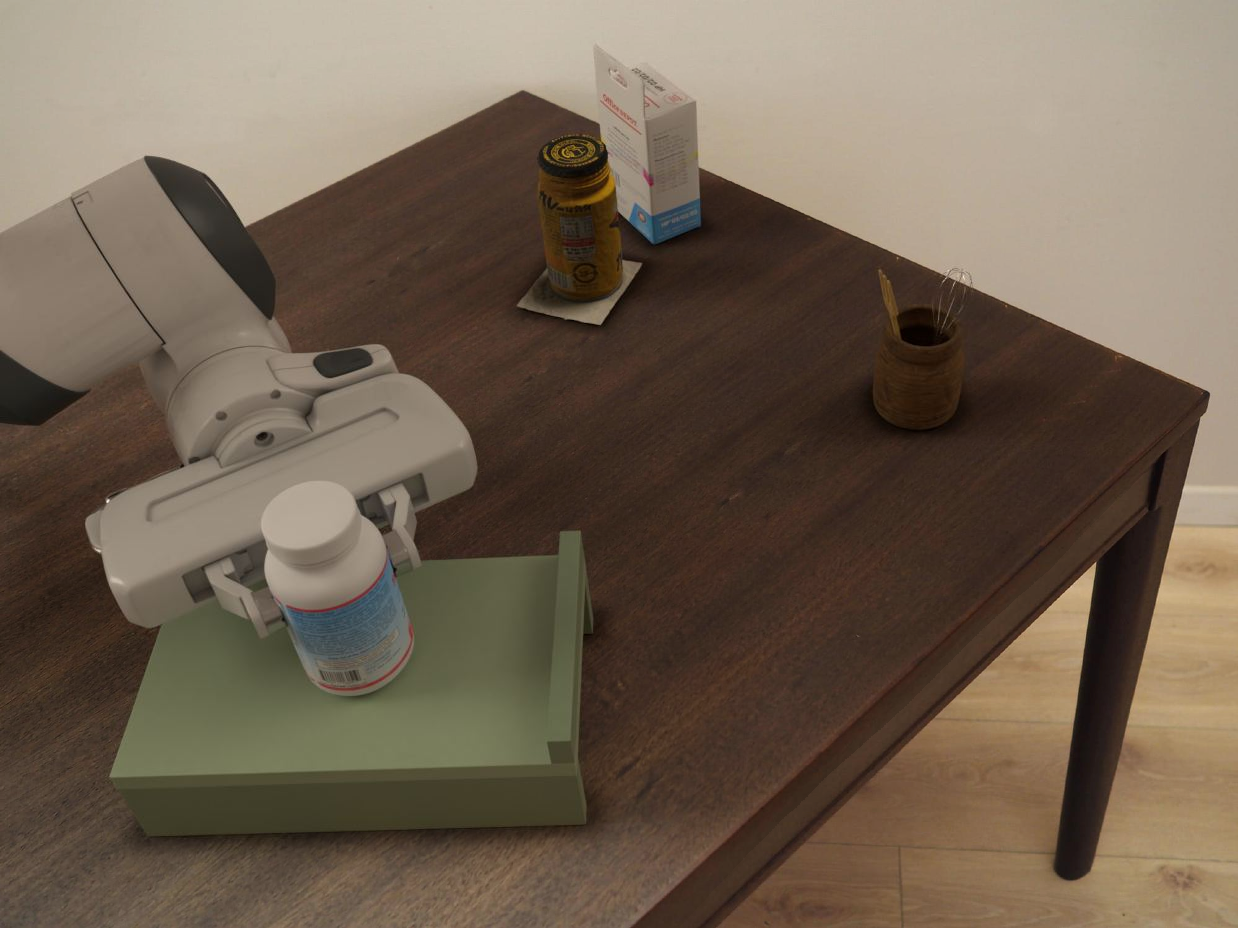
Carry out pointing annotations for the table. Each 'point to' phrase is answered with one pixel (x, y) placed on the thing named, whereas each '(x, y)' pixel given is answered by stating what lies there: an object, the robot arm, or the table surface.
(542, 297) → the condiment
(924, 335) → the utensil holder
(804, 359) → the table surface
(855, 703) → the table surface
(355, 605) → the pill bottle
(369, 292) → the table surface
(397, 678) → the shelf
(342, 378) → the robot arm
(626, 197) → the ink box
